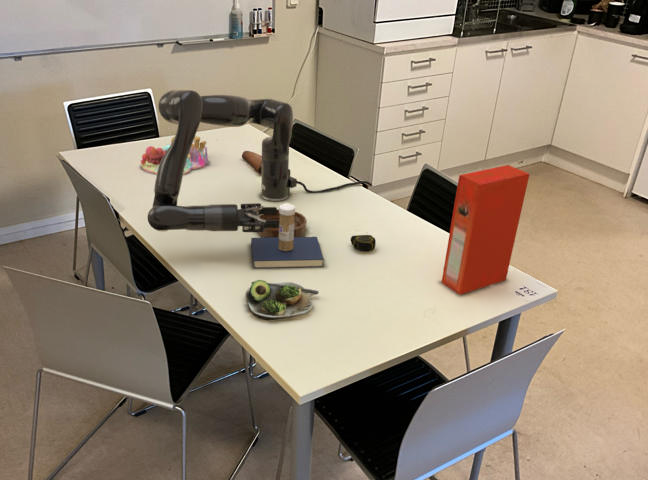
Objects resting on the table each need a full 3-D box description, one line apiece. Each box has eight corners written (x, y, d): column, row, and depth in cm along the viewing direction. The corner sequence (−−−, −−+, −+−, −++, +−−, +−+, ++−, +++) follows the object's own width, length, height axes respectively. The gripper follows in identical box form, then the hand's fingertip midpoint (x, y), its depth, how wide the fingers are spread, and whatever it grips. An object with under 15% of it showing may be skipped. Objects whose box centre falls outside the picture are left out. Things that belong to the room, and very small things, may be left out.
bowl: (282, 216, 220) (282, 205, 218) (315, 232, 211) (316, 221, 209) (247, 229, 210) (247, 218, 208) (280, 247, 201) (280, 235, 199)
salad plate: (311, 282, 184) (312, 267, 182) (327, 317, 170) (328, 302, 167) (241, 288, 180) (241, 273, 178) (252, 324, 166) (252, 309, 163)
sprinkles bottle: (275, 248, 195) (275, 206, 188) (285, 243, 198) (286, 201, 191) (286, 253, 192) (287, 211, 185) (297, 248, 195) (298, 206, 188)
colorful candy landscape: (157, 150, 268) (155, 127, 263) (214, 155, 266) (213, 132, 261) (135, 172, 247) (133, 148, 242) (197, 178, 245) (196, 154, 240)
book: (251, 245, 201) (251, 237, 200) (316, 244, 204) (317, 236, 202) (253, 268, 190) (253, 260, 188) (323, 267, 192) (323, 259, 191)
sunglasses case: (279, 171, 252) (271, 158, 248) (264, 182, 252) (255, 169, 247) (261, 156, 266) (253, 142, 261) (247, 166, 265) (238, 153, 261)
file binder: (440, 282, 187) (459, 174, 170) (485, 268, 195) (507, 164, 178) (460, 295, 182) (481, 185, 165) (505, 280, 189) (530, 174, 173)
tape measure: (371, 243, 206) (372, 232, 204) (377, 254, 200) (378, 242, 198) (350, 244, 205) (350, 233, 203) (355, 255, 199) (356, 243, 197)
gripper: (220, 216, 180) (280, 215, 182) (220, 195, 192) (276, 195, 194) (221, 241, 184) (280, 240, 186) (220, 219, 195) (275, 218, 197)
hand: (278, 217), depth 190 cm, fingers open, 8 cm apart
